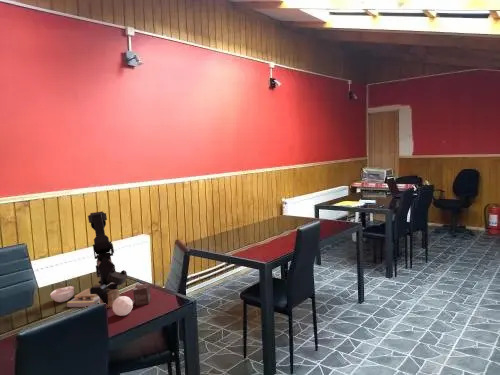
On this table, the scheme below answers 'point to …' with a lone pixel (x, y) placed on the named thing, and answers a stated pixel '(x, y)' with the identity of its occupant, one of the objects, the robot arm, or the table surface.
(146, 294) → the box
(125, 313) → the pale pink ovoid
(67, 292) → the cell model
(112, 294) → the crate
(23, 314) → the table surface
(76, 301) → the dock
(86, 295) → the pallet
